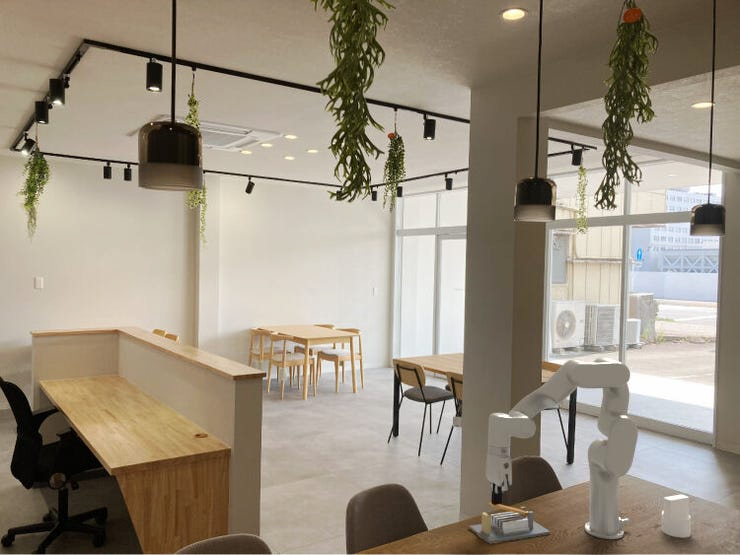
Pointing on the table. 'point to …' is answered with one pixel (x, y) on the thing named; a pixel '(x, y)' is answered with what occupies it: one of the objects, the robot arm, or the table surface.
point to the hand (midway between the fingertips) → (496, 503)
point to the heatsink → (509, 523)
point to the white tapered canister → (676, 516)
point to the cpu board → (495, 536)
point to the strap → (509, 508)
